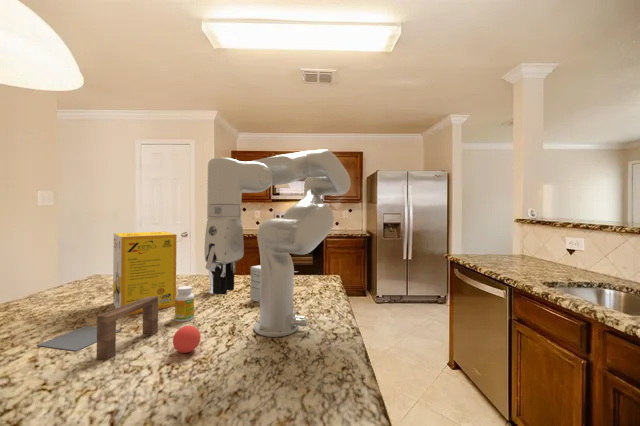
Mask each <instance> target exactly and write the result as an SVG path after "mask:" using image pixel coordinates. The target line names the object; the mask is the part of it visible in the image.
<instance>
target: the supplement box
mask: <svg viewBox="0 0 640 426" xmlns="http://www.w3.org/2000/svg"><path fill="white" fill-rule="evenodd" d="M260 274H261V264H258V265H253V266H250V284H249V285H250V288H249V289H250V297H249V298H250V300H251V301H254V302H256V303H259V304H260Z"/></svg>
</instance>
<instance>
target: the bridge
mask: <svg viewBox="0 0 640 426" xmlns="http://www.w3.org/2000/svg"><path fill="white" fill-rule="evenodd" d="M141 308H143V312H142V335H146V336H154V335H156V334H158V333H159V309H158V297H150V296H149V297H146V298H143V299H140V300H138V301H135V302H132V303H130V304H127V305H124V306H122V307H119V308H114V309H111V310H109V311H106V312H103V313H100V314H97V315H96V327H97V342H96V359H98V360H104V361H109V360H110V359H112V358H114V357H116V355H117V353H116V351H117V350H116V348H117V347H116V345H117V344H116V343H117V333H116V330H117V319H119V318H122V317H124V315H126V316H128V315H127V314H129V313H132V312H134V311H136V310H139V309H141Z"/></svg>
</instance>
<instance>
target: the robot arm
mask: <svg viewBox="0 0 640 426" xmlns="http://www.w3.org/2000/svg"><path fill="white" fill-rule="evenodd" d="M300 180H304V185H303V197H302V198H301V199H300V200H299V201H298V202H296V203H295V204H294V205H292V206H291V207H289V208H288V209H287V210H286V211H285V212H284V213H283V217H282V218H278V217H277V218H270V219H269V218H268V219H266V220H264V221H263V222H262V223H260V225H259V227H258V228H257V233H256V235H257V236H256V238H257V239H256V240H257V246H258V249H259V258H260V265H261V274H260V303H259V320H257V321H256V322H255V323H254V325H253V330H254V332H255V333H256V334H258V335H260V336H263V337H268V338H278V337H279V338H280V337H285V336H289V335H291V334H294V333H295V332H296V331H298V329H299V326H300V327H307V326H308V319H307V318H306V316H300V315H299V316H298V315H297V310H294V283H295V282H294V281H295V279H294V278H295V267H294V266H295V265H294V262H293V259H292V256H291V255H290V254H293V255H306V254H310V253H311V252H312V251H313V250H315V249H316V248H317V247H318V245H320V244H321V242H322V241H324V239H325V238H326V237H327V236H328V235H330V233H331V231H332V230H333V229H332V228H333V226H334V219H335V217H334V212H333V210H332V209H331V208H330V207H329V206H328V205H327V204H324V201H323V199H322V198H321V196H341V195H342V196H343V195H345V194H347V193H348V192H349V191H350V189H351V177H350V174H349V172H348V171H347V170H346V168H345V167H344V165H343V164H342V162H341V161H340V160H339V158H338V157H337V156H336V155H335V154H334V153H333V152H331V151H330V150H329V149H325V148H324V149H323V148H322V149H314V150H303V151H297V152H292V153H285V154H279V155H275V156H274V155H273V156H269V157H266V158H260V159H255V160H251V161H241V160H237V159H234V158H230V157H214V158H211V159H210V160H209V161H208V163H207V191H206V192H207V199H206V200H207V203H206V204H207V205H206V207H207V208H206V219H207V221H206V227H205V235H204V236H205V237H204V260H205V262H206V264H205V269H206V270H207V271H208V270H210V271H211V273H212V277H213V293H214V294H213V295H223V296H224V295H227V293H228V291H234V290H235V273H236V266H237V263H238V261H240V260H241V259H243V257H244V255H245V252H244V251H245V246H244V244H245V243H244V228H243V227H244V226H243V221H242V196H243V193H244V194H245V193H246V194H249V193H251V194H252V193H262V192H264V191H266V190H268V189H269V188H270V187H271V186H282V185H287V184H291V183H294V182H297V181H300ZM216 261H218V262H216ZM219 266H221V269H220V267H219Z"/></svg>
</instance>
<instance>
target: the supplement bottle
mask: <svg viewBox="0 0 640 426" xmlns="http://www.w3.org/2000/svg"><path fill="white" fill-rule="evenodd" d="M194 318H195V294H194V293H193V287H192V286H191V285H182V286H179V287H177V294H176V297H175V306H174V320H175V321H176V322H188V321H191V320H193V319H194Z"/></svg>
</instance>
